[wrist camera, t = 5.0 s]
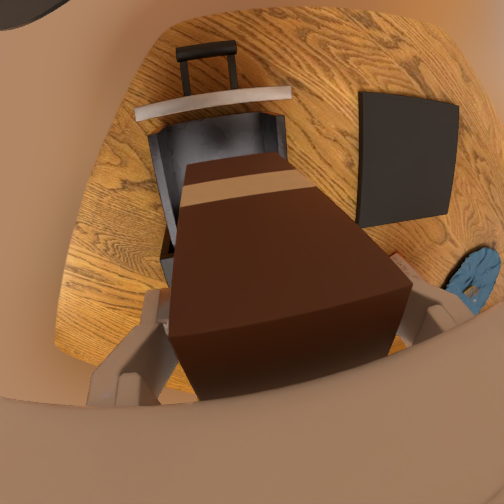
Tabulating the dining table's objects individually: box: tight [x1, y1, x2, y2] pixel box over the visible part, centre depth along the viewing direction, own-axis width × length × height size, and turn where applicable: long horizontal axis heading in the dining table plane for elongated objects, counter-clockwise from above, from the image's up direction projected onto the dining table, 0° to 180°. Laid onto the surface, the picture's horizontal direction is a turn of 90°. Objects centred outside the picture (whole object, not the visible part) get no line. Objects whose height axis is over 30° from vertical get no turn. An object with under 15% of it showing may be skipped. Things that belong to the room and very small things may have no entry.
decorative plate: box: [446, 247, 501, 316], centre depth 51 cm, size 30×30×5 cm
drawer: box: [134, 40, 292, 251], centre depth 24 cm, size 18×12×7 cm
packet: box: [168, 152, 413, 401], centre depth 11 cm, size 5×5×12 cm
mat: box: [356, 92, 459, 228], centre depth 33 cm, size 18×18×1 cm
